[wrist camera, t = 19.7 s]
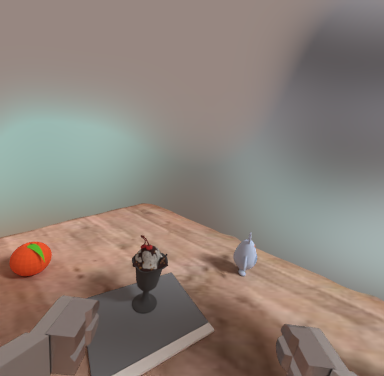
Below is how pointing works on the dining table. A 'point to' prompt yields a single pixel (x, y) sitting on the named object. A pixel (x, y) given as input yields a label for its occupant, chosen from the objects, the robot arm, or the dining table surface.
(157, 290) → the mat
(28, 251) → the clementine
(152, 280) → the sundae
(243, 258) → the toy figure
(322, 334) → the robot arm
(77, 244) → the dining table surface
